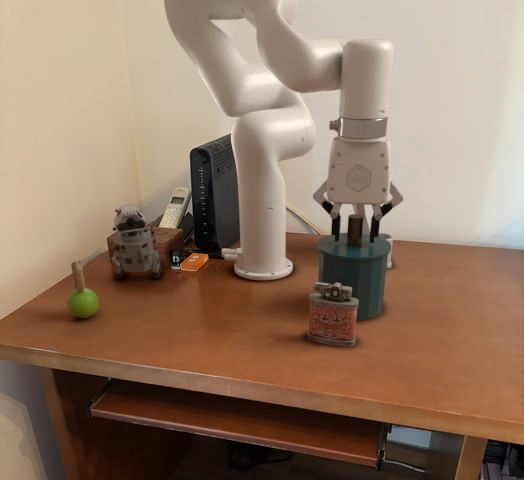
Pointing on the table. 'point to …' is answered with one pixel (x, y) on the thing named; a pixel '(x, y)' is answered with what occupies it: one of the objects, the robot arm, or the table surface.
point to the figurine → (134, 243)
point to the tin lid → (354, 243)
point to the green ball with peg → (81, 295)
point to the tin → (357, 281)
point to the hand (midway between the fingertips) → (354, 238)
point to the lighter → (332, 314)
